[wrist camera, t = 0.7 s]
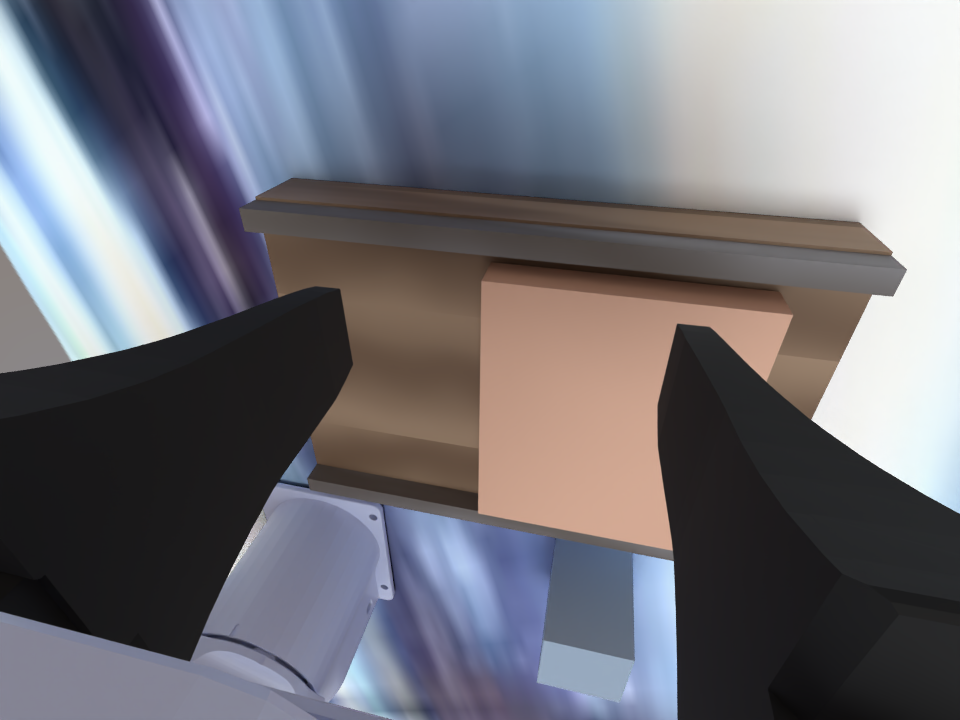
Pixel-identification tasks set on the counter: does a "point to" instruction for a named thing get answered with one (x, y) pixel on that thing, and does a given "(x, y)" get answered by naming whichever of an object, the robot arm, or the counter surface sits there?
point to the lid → (593, 390)
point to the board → (457, 311)
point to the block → (588, 621)
